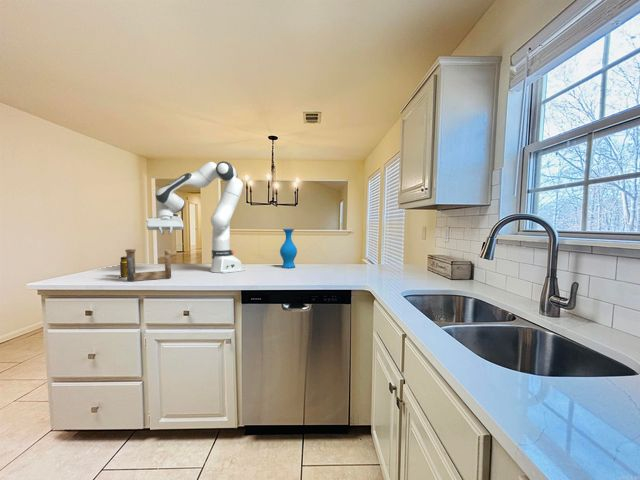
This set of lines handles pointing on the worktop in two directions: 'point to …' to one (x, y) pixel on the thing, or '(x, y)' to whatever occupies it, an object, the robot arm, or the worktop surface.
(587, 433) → the worktop surface
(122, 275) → the condiment
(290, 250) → the vase
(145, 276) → the gate
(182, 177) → the robot arm
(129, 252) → the gate post
